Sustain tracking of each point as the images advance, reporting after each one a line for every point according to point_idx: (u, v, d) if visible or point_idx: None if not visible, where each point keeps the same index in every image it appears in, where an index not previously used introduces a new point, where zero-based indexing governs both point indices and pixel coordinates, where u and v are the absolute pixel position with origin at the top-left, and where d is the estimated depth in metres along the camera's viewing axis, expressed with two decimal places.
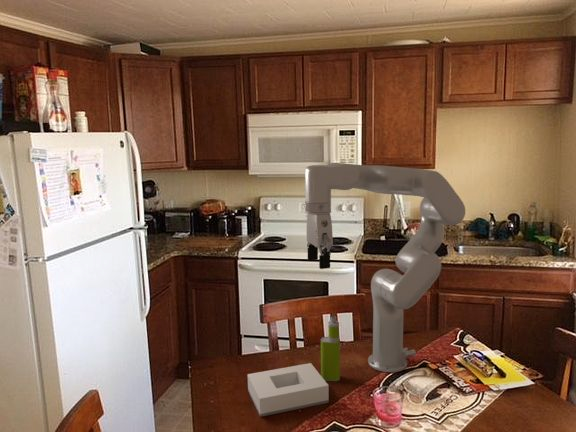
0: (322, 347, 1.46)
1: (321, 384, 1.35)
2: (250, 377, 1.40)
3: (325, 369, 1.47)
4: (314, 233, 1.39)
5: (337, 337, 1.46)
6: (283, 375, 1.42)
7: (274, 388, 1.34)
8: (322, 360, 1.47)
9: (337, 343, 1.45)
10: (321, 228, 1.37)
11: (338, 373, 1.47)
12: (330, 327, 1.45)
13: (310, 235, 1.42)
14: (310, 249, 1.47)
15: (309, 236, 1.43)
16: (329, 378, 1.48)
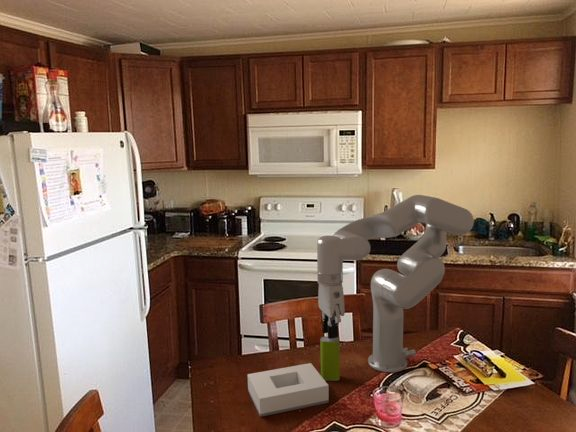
0: (322, 346, 1.47)
1: (321, 384, 1.35)
2: (250, 377, 1.40)
3: (325, 369, 1.47)
4: (326, 303, 1.41)
5: None
6: (283, 375, 1.42)
7: (274, 388, 1.34)
8: (322, 360, 1.47)
9: (336, 342, 1.46)
10: (333, 299, 1.40)
11: (338, 373, 1.48)
12: None
13: (322, 304, 1.45)
14: (325, 322, 1.48)
15: (321, 304, 1.46)
16: (329, 378, 1.48)
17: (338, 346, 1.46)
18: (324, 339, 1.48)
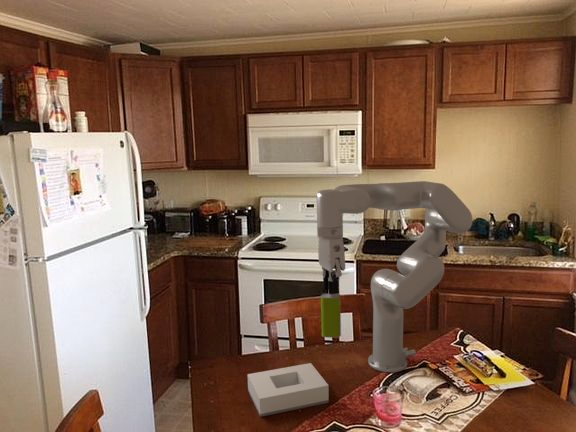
0: (322, 303, 1.45)
1: (321, 384, 1.35)
2: (250, 377, 1.40)
3: (325, 326, 1.45)
4: (327, 257, 1.39)
5: (337, 293, 1.44)
6: (283, 375, 1.42)
7: (274, 388, 1.34)
8: (322, 316, 1.45)
9: (337, 299, 1.44)
10: (334, 253, 1.37)
11: (339, 329, 1.46)
12: None
13: (322, 259, 1.43)
14: (326, 279, 1.45)
15: (321, 260, 1.44)
16: (330, 335, 1.46)
17: (339, 302, 1.44)
18: (325, 296, 1.46)
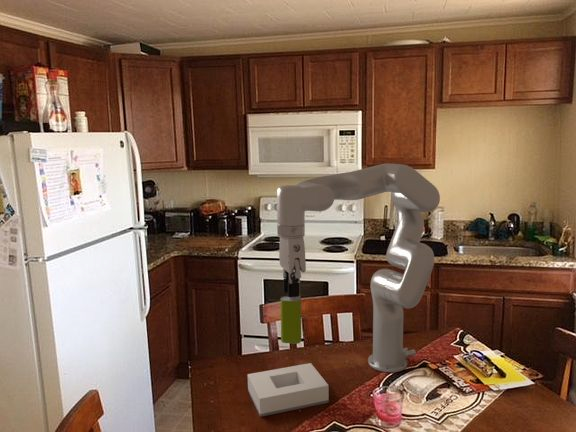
0: (282, 306, 1.35)
1: (321, 384, 1.35)
2: (250, 377, 1.40)
3: (285, 331, 1.36)
4: (286, 258, 1.30)
5: None
6: (283, 375, 1.42)
7: (274, 388, 1.34)
8: (282, 321, 1.36)
9: (298, 302, 1.34)
10: (293, 253, 1.28)
11: (299, 335, 1.36)
12: None
13: (282, 259, 1.34)
14: (286, 280, 1.36)
15: (281, 260, 1.35)
16: (289, 340, 1.36)
17: (299, 306, 1.35)
18: (285, 299, 1.36)
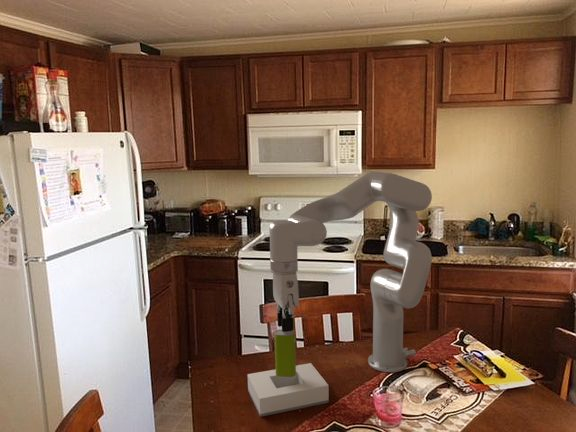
0: (276, 340, 1.36)
1: (321, 384, 1.35)
2: (250, 377, 1.40)
3: (279, 364, 1.36)
4: (279, 293, 1.30)
5: None
6: None
7: (274, 388, 1.34)
8: (276, 354, 1.36)
9: (292, 336, 1.35)
10: (286, 289, 1.29)
11: (293, 369, 1.37)
12: None
13: (276, 294, 1.34)
14: (280, 314, 1.36)
15: (275, 295, 1.35)
16: (284, 374, 1.37)
17: (293, 340, 1.35)
18: (279, 332, 1.37)
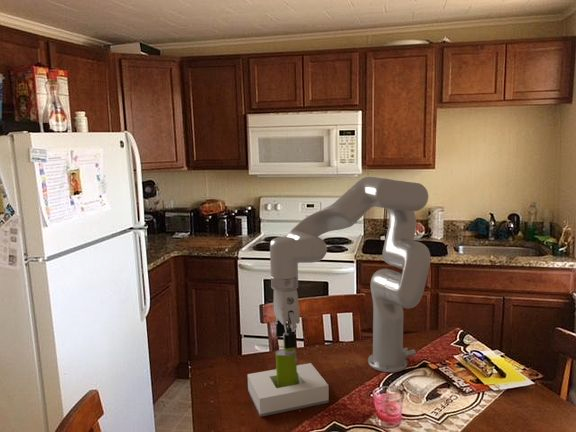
0: (277, 360, 1.37)
1: (321, 384, 1.35)
2: (250, 377, 1.40)
3: (281, 384, 1.38)
4: (280, 310, 1.31)
5: (292, 350, 1.36)
6: None
7: (274, 388, 1.34)
8: (277, 374, 1.38)
9: (292, 356, 1.36)
10: (287, 306, 1.29)
11: None
12: None
13: (276, 310, 1.35)
14: (279, 325, 1.39)
15: (276, 311, 1.36)
16: None
17: (294, 360, 1.36)
18: (280, 352, 1.38)
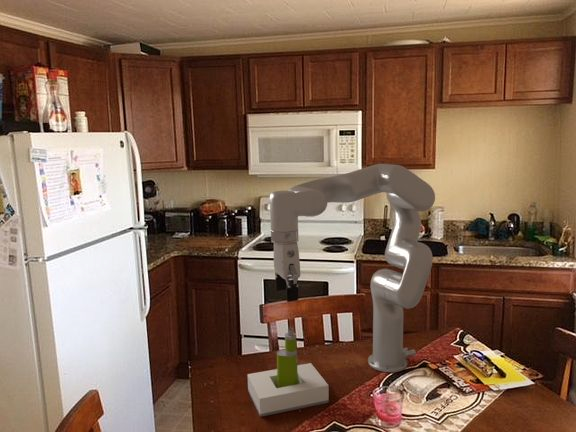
0: (278, 361, 1.37)
1: (321, 384, 1.35)
2: (250, 377, 1.40)
3: (281, 384, 1.38)
4: (280, 264, 1.30)
5: (294, 350, 1.36)
6: None
7: (274, 388, 1.34)
8: (278, 374, 1.38)
9: (294, 357, 1.35)
10: (287, 259, 1.28)
11: None
12: (286, 340, 1.35)
13: (277, 265, 1.33)
14: (278, 279, 1.38)
15: (276, 266, 1.34)
16: None
17: (295, 361, 1.36)
18: (281, 352, 1.38)
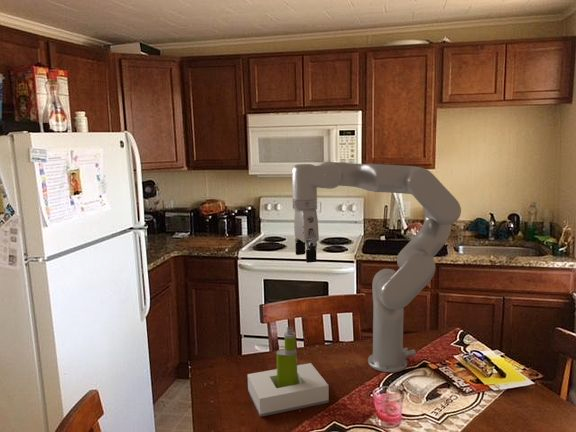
0: (278, 360, 1.37)
1: (321, 384, 1.35)
2: (250, 377, 1.40)
3: (281, 384, 1.38)
4: (301, 228, 1.46)
5: (293, 349, 1.36)
6: None
7: (274, 388, 1.34)
8: (278, 374, 1.38)
9: (293, 356, 1.36)
10: (307, 224, 1.44)
11: None
12: (286, 339, 1.36)
13: (297, 231, 1.49)
14: (298, 244, 1.54)
15: (296, 232, 1.50)
16: None
17: (295, 360, 1.37)
18: (281, 352, 1.38)
